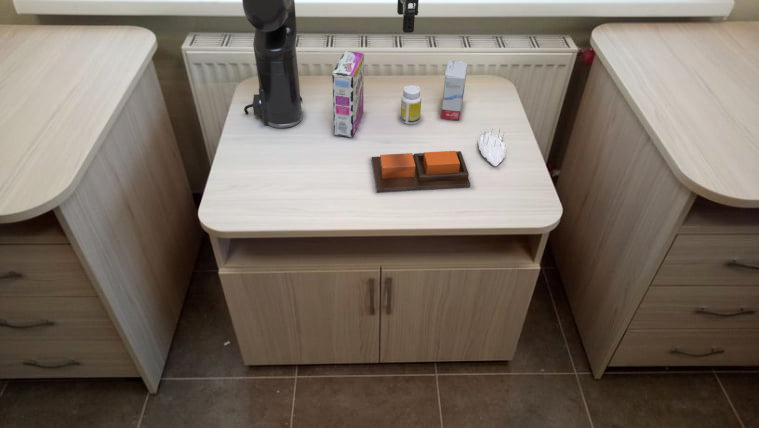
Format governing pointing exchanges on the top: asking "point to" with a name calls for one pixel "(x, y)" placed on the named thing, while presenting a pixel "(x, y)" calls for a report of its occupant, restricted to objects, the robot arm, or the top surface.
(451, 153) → the loose pad
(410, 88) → the supplement bottle
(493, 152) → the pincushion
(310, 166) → the top surface
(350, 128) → the candy bar box
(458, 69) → the ink box
